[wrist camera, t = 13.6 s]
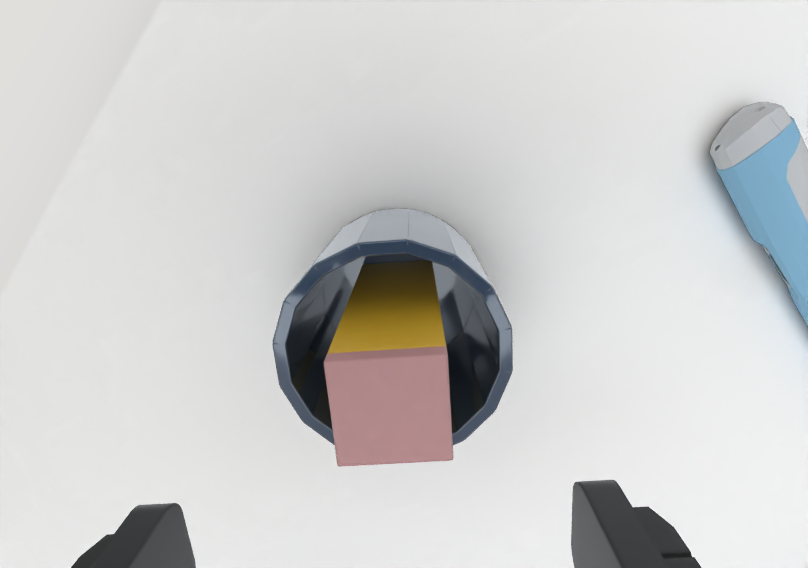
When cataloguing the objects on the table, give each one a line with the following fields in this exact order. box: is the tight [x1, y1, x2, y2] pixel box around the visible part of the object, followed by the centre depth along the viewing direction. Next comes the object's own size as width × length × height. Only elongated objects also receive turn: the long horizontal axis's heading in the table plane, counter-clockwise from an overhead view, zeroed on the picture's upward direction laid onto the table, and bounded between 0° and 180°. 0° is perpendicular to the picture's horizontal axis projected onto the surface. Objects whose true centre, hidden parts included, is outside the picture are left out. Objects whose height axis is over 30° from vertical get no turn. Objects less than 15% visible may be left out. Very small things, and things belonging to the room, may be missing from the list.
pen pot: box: [273, 208, 513, 445], centre depth 21 cm, size 9×9×8 cm
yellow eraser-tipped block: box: [324, 260, 453, 466], centre depth 19 cm, size 4×4×11 cm
